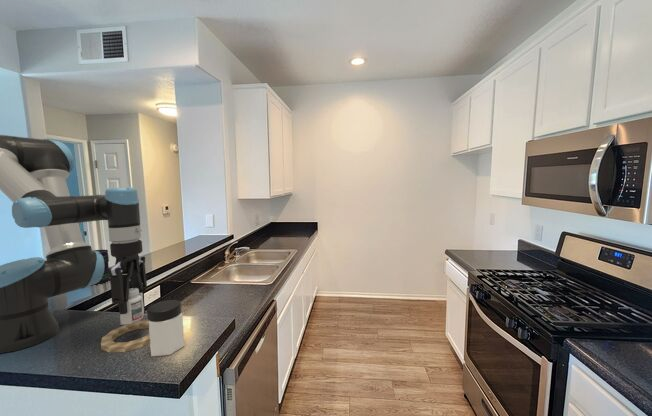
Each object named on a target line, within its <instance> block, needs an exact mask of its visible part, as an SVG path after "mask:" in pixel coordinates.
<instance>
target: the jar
mask: <svg viewBox="0 0 652 416" xmlns="http://www.w3.org/2000/svg"><path fill="white" fill-rule="evenodd" d="M146 314H147V315H146V316H147V317H146V318H147V321H148V328H147V329H148V335H149V340H150V343H149V351H150V356H151V357H160V356H161V357H162V356H164V357H165V356H170V355H172V354H174V353H175V352H177V351H178V350H180V349H182V348H183V347H185V335H184V322H183V321H184V320H183V312H182V302H181V301H180V300H178V299H168V300H163V301H158V302H155V303H153V304H152V305H150V306H148V307H147V308H146Z"/></svg>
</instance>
